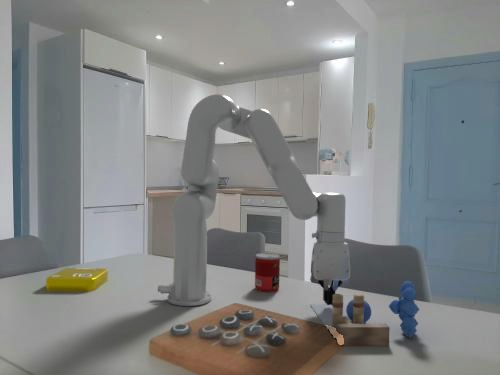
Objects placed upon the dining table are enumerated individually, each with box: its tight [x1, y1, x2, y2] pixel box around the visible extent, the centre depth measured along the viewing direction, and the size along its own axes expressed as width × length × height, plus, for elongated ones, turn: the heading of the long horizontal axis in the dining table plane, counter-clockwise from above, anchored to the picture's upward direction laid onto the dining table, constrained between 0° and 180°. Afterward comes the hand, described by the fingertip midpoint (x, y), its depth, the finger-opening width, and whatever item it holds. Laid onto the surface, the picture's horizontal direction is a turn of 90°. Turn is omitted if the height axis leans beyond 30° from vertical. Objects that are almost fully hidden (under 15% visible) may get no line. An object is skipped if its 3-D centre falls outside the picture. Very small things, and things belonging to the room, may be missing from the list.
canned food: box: [254, 252, 281, 293], centre depth 125 cm, size 8×8×11 cm
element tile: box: [45, 267, 109, 293], centre depth 124 cm, size 15×15×5 cm
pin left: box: [332, 293, 344, 328], centre depth 89 cm, size 2×2×8 cm
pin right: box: [352, 293, 365, 324], centre depth 90 cm, size 2×2×8 cm
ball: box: [345, 298, 372, 324], centre depth 95 cm, size 6×6×6 cm
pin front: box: [343, 317, 352, 324], centre depth 89 cm, size 2×2×8 cm
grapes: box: [388, 280, 420, 338], centre depth 89 cm, size 12×7×12 cm, turn 163°
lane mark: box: [309, 303, 353, 327], centre depth 97 cm, size 9×24×1 cm, turn 4°
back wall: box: [336, 323, 390, 347], centre depth 83 cm, size 11×2×4 cm, turn 94°
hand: (329, 303), depth 106 cm, fingers closed
